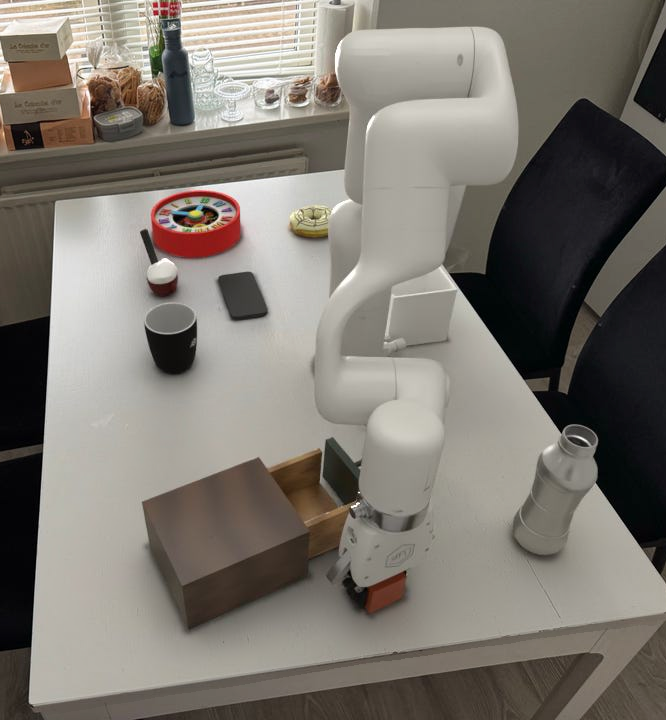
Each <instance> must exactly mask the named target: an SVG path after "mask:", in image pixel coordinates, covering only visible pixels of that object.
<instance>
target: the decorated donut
mask: <svg viewBox="0 0 666 720" xmlns="http://www.w3.org/2000/svg"><path fill="white" fill-rule="evenodd" d="M333 209H334V208H331V207H329V206H325V205H319V204H318V205H308V206H304V207H301V208H299V209H296V210H295V211H294V212H292V214H290V216H289V227H290V230H291V231H292V232H293V233H295V234H296V235H299V236H301V237H307V238H322V237H326V236H328V221H329V216H330V214H331V212H332V210H333Z"/></svg>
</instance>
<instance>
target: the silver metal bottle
mask: <svg viewBox="0 0 666 720" xmlns="http://www.w3.org/2000/svg"><path fill="white" fill-rule="evenodd" d="M598 442H599V438H598V436H597V434H596V433H595V432H594V431H593V430H592V429H590V428H589V427H587V426H584V425H581V424H569V425H567V426H565V427H564V428H563V430H562V433H561V435H560V436H559V438H558V440H557V442H555V443H552V444H550V445H548V446H547V447H545V448H544V449H543V450H542V451H541V452H540V453H539V455H538V457H537V461H536V467H535V473H534V479H533V482H532V485H531V488H530V492H529V494H528V495H527V497H526V499H525V501H524V502H523V504H522V505H520V507H519V508H518V510H517V511H516V513H515V514H514V516H513V519H512V533H513V536H514V538H515V539H516V541H517V542H518V544H519V545H520V546H521V547H522V548H523V549H524V550H526V551H528V552H530V553H532V554H535V555H539V556H550V555H553V554H557V553H558V552H559V551H561V549H562V548H563V547H564V546H565V545H566V544H567V543H568V539H569V536H570V535H569V534H570V528H571V524H572V520H573V517H574V515H575V512H576V510H577V509H578V507H579V505H580V504H581V502H582V501H583V500H584V498H585V496H586V495H587V494H588V493H589V492H590V491H591V489H592V488H593V487H594V485H595V484H596V482H597V480H598V470H599V469H598V464H597V462H596V460H595V457H594V455H595V453H596V450H597V446H598V444H599V443H598Z"/></svg>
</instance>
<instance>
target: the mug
mask: <svg viewBox="0 0 666 720" xmlns="http://www.w3.org/2000/svg"><path fill="white" fill-rule="evenodd" d="M197 318H198V317H197V313H196V311H195V310H194V309H193V308H192V307H191V306H189V305H187V304H184V303H180V302H164V303H160V304H158V305H155V306H153V307H152V308H150V309H149V310H148V311H147V312H146V313H145V314H144V318H143V327H144V331H145V338H146V341H147V344H148V348H149V352H150V355H151V358H152V360H153V362H154V364H155V366H156V367H157V368H158V369H159V370H160V371H161V372H163V373H165V374H169V375H179V374H182V373H185V372H186V371H188V370H190V368H191V367H192V366H193V364H194V362H195V358H196V354H197V345H198V319H197Z"/></svg>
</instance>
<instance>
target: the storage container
mask: <svg viewBox="0 0 666 720" xmlns="http://www.w3.org/2000/svg"><path fill="white" fill-rule="evenodd" d="M457 293H458V288H457V287H456V286H455V284H454V283H453V282H452V280H451V279H450V278H449V276H448V275H447V274H446V272H445V271H444V269H443V268H442V266H440V267H439V268H437V269H436V270H434V271H432V272H430V273H428V274H425V275H423V276H420V277H417V278H414V279H411V280H408V281H405V282H403V283H400V284H397V285H394V286H392V291H391V298H390V305H389V312H388V319H387V326H386V332H385V334H389V335H390V341H388V342H387V343H390V342H392V341H394V340H397V339H399V338H403V339H404V340H405V342H406V347H408V346H416V345H422V344H430V343H437V342H444V341H447V337H448V334H449V330H450V324H451V319H452V317H453V312H454V307H455V301H456V298H457Z"/></svg>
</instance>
